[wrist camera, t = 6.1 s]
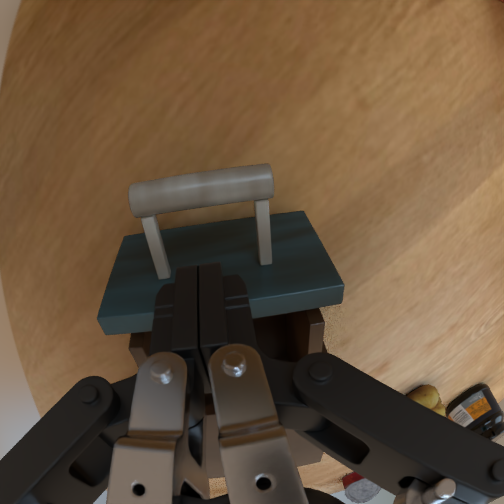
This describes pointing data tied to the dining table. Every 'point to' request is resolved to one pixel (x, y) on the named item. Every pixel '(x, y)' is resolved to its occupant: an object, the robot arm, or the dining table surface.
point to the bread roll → (428, 398)
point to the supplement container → (478, 412)
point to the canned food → (359, 488)
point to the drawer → (224, 261)
